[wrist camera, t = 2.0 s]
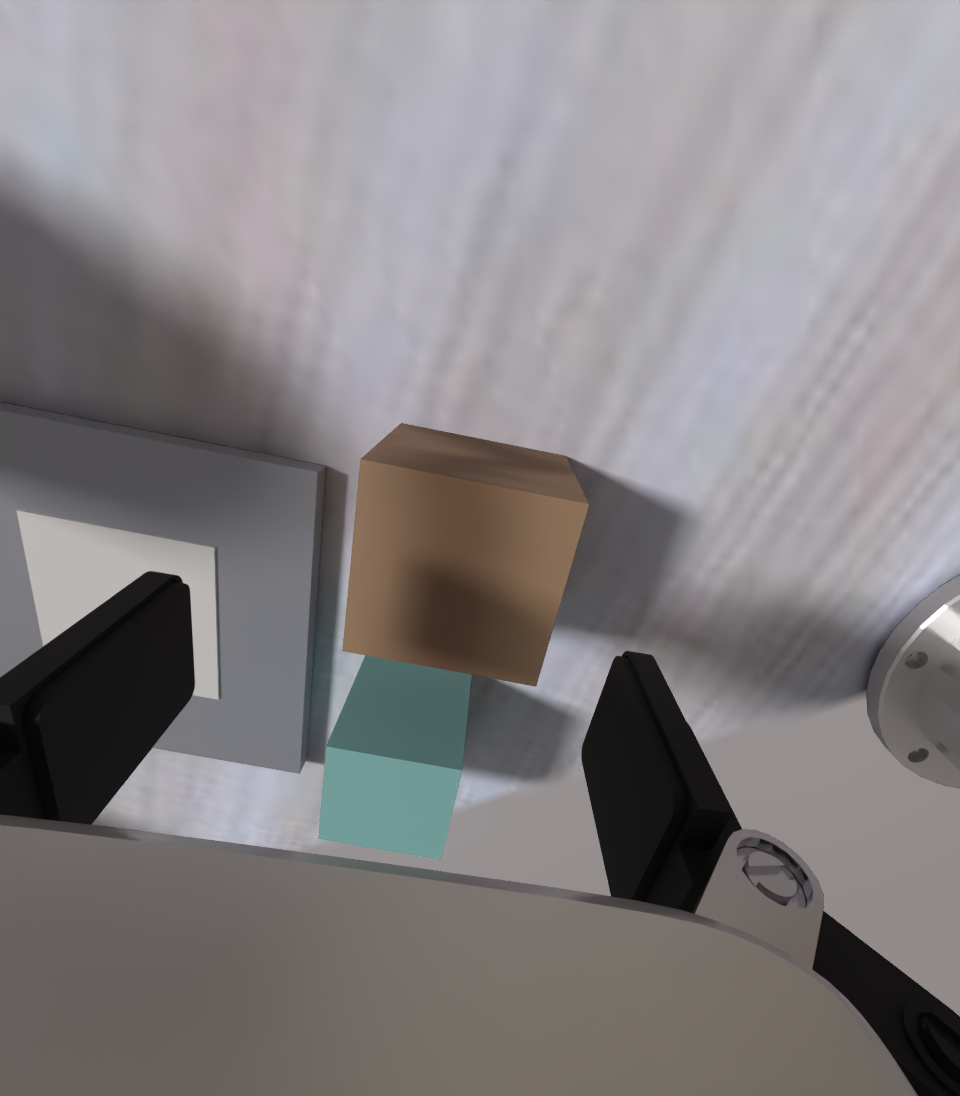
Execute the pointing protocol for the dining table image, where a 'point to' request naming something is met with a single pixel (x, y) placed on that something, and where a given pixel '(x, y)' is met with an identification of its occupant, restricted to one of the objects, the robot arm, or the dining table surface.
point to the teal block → (396, 758)
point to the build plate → (170, 565)
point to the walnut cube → (461, 553)
